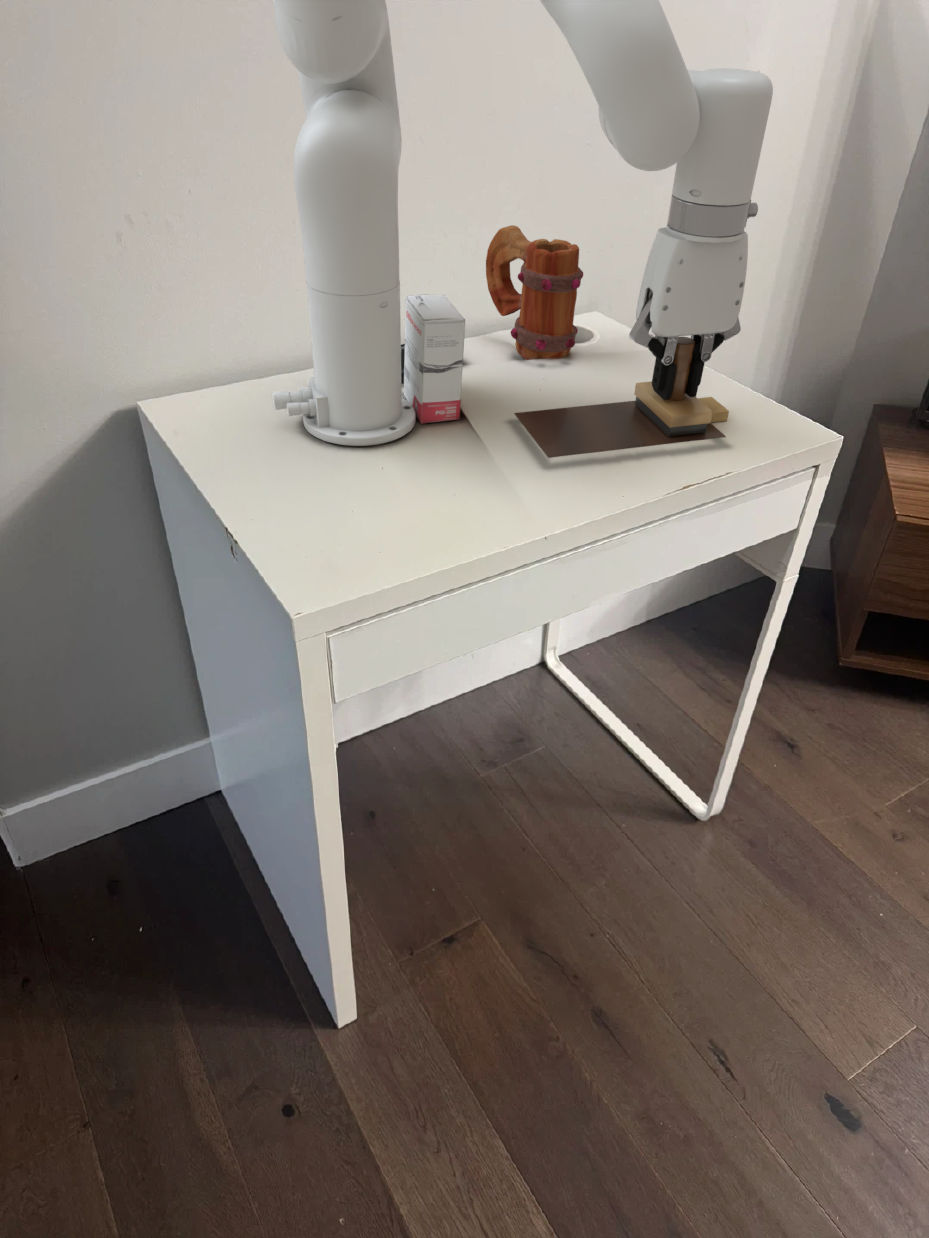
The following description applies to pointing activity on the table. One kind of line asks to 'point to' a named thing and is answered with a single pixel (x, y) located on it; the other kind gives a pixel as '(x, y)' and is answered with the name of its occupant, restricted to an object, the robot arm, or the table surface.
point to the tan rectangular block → (715, 409)
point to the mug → (536, 291)
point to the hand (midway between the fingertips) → (674, 392)
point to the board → (599, 429)
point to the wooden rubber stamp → (675, 399)
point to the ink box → (433, 357)
